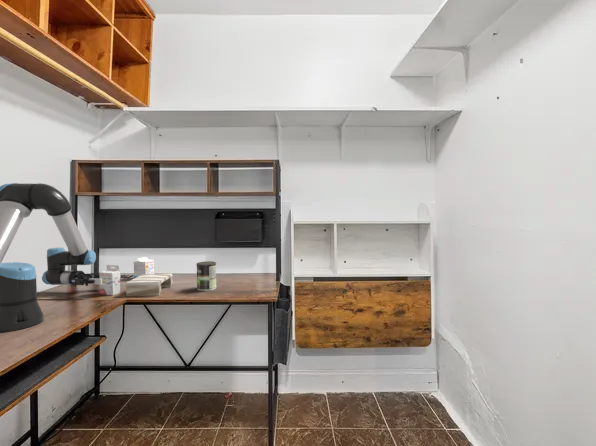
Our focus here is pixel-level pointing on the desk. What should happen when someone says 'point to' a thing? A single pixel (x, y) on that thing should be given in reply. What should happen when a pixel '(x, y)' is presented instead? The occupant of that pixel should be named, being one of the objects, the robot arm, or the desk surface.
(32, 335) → the desk surface
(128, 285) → the shelf bridge
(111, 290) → the ink cartridge box
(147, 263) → the ink box
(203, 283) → the coffee can
